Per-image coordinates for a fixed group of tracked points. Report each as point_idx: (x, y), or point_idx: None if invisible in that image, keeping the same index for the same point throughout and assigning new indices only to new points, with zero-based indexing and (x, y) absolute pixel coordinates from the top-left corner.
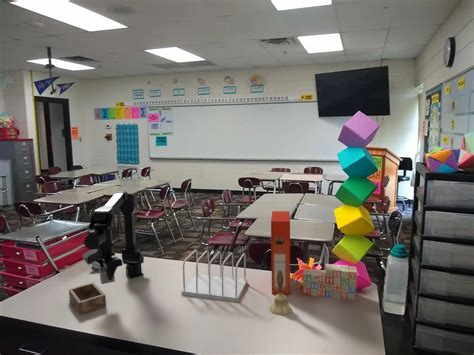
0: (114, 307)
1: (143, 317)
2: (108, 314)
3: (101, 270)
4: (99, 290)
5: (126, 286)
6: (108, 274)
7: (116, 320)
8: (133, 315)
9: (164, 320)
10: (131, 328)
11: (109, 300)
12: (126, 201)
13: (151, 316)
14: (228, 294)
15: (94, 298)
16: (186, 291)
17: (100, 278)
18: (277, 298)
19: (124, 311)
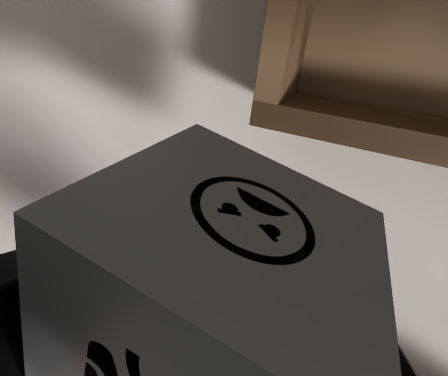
0: (223, 132)
1: (55, 160)
2: (172, 59)
3: (116, 305)
4: (395, 140)
5: (419, 345)
6: (11, 258)
7: (90, 58)
8: (89, 145)
9: (7, 190)
10: (3, 73)
11: (340, 167)
12: None
13: (48, 184)
14: None
15: (267, 5)
16: None
17: (325, 204)
18: None
19: (145, 141)
